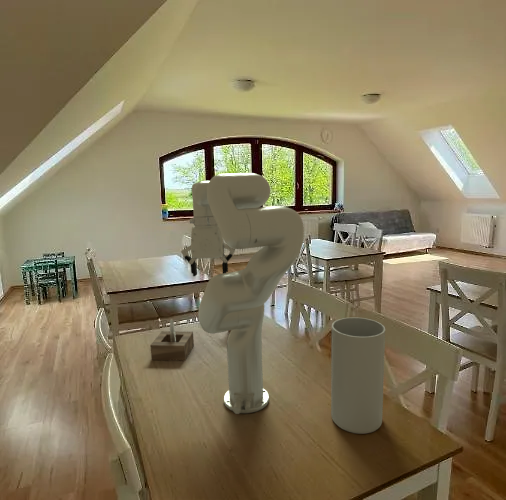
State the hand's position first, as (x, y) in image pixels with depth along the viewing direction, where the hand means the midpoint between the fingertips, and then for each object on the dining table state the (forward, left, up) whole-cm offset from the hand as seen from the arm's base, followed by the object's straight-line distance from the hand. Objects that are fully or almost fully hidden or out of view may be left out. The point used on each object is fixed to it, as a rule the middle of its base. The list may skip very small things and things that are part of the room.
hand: (209, 274), depth 124 cm
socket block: (+8, +17, -31) cm, 36 cm away
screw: (+8, +17, -31) cm, 36 cm away
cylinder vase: (-28, -42, -31) cm, 59 cm away
